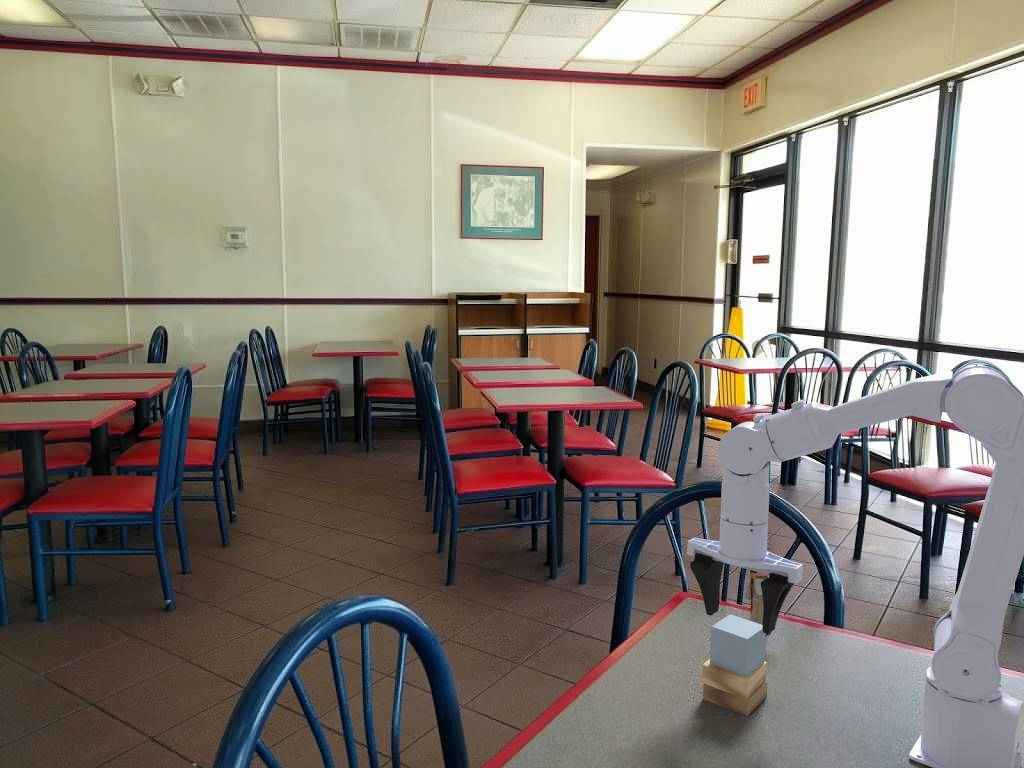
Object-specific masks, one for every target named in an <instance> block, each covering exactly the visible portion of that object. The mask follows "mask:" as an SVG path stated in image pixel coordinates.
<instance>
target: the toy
mask: <svg viewBox="0 0 1024 768" xmlns="http://www.w3.org/2000/svg"><path fill="white" fill-rule="evenodd" d="M771 542H772V543H773V545H774V546H776V543H775V542H774V541H773V540H772V539H771ZM771 542H767V545H769V546H771V547H773V546H772V544H771ZM773 550H774V551H775V552H777V550H776V549H775V548H773ZM767 551H771V553H774V551H772V550H771V548H768V547H767ZM748 570H749V575H750V576H749V578H750V579H749V580H750V581H749V582H747V585H746V589H745V592H744V593H745V594H744V595H745V597H744V598H745V599H746V600H747V601H750V609H749V610H750V611H749V612H750V613H749V614H750V617H749V619H748V620H749V621H752V622H755V623H758V624H761V625H762V623H763V596H762V590H761V582H762V581H763V580H765V579H766V578H769V575H768V574H765V573H761V572H757V571H753V570H750V569H748Z"/></svg>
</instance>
